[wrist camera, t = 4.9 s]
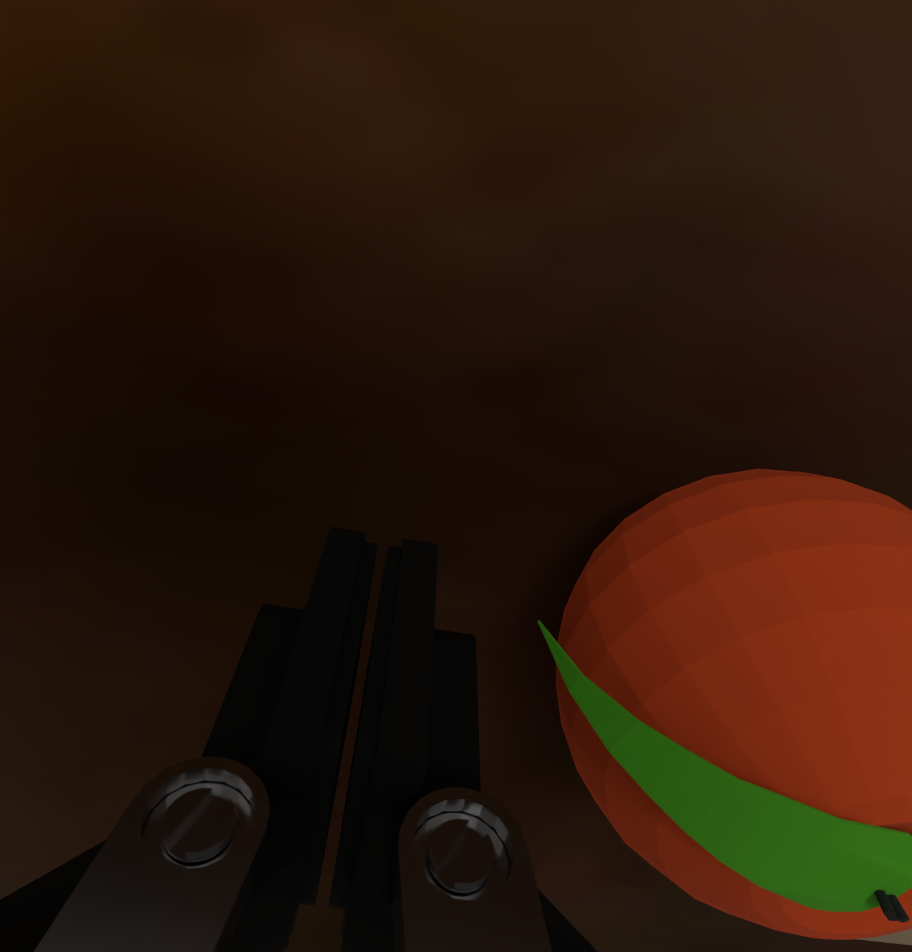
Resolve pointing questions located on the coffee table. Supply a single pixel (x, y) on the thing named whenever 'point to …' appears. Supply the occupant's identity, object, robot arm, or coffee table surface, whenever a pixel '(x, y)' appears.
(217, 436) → the coffee table surface
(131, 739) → the coffee table surface
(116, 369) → the coffee table surface
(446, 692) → the robot arm
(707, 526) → the clementine
